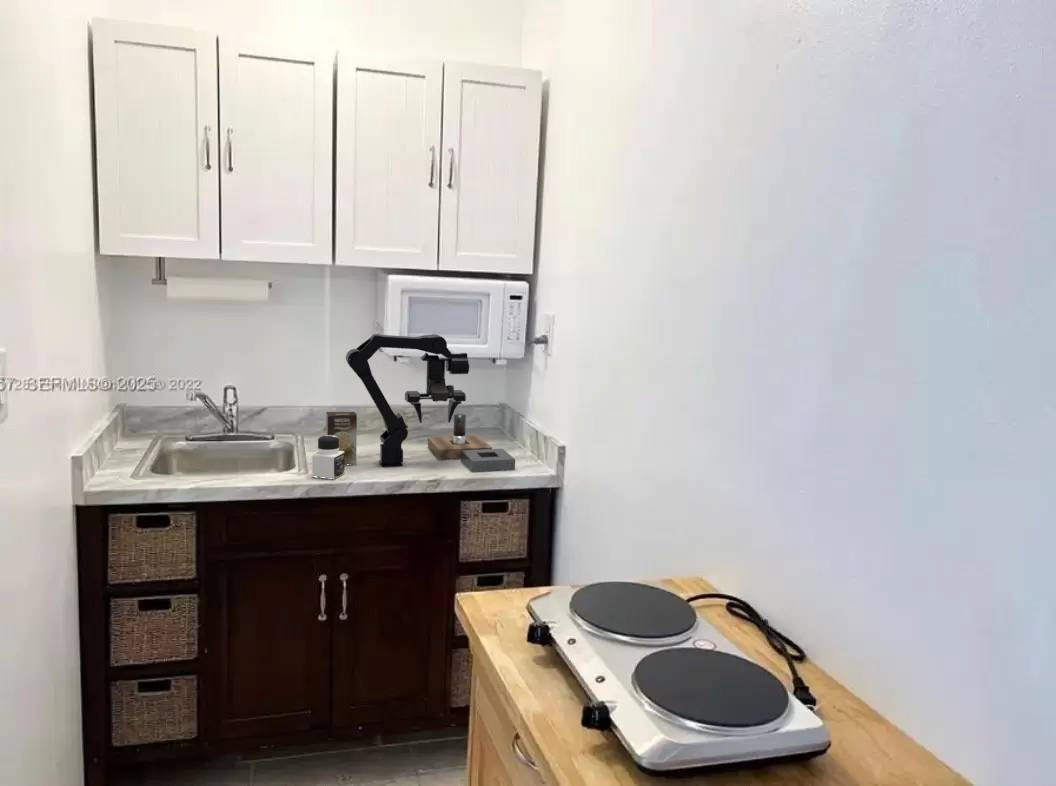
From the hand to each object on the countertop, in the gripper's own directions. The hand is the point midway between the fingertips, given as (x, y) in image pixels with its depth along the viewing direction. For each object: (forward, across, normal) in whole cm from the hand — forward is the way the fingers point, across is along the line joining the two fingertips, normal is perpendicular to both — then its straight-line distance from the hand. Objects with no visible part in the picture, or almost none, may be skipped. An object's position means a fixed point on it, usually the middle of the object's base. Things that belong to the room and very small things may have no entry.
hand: (434, 422), depth 255 cm
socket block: (+13, +16, -7) cm, 22 cm away
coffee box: (+13, -29, +4) cm, 32 cm away
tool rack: (+13, +11, +11) cm, 20 cm away
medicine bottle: (+13, -34, -10) cm, 38 cm away
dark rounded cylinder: (+13, +11, +11) cm, 20 cm away
